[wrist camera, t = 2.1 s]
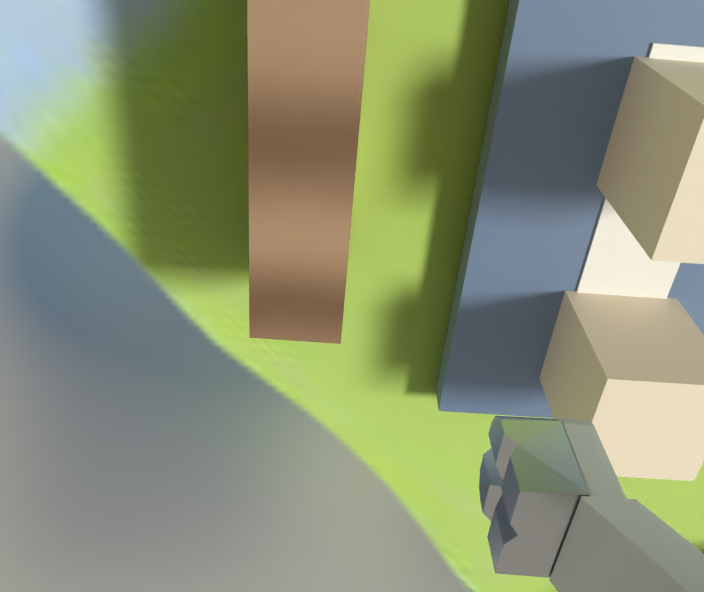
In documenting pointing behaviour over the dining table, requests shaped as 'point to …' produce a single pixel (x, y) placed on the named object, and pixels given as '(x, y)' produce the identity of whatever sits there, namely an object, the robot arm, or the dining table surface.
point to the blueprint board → (590, 232)
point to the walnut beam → (302, 161)
